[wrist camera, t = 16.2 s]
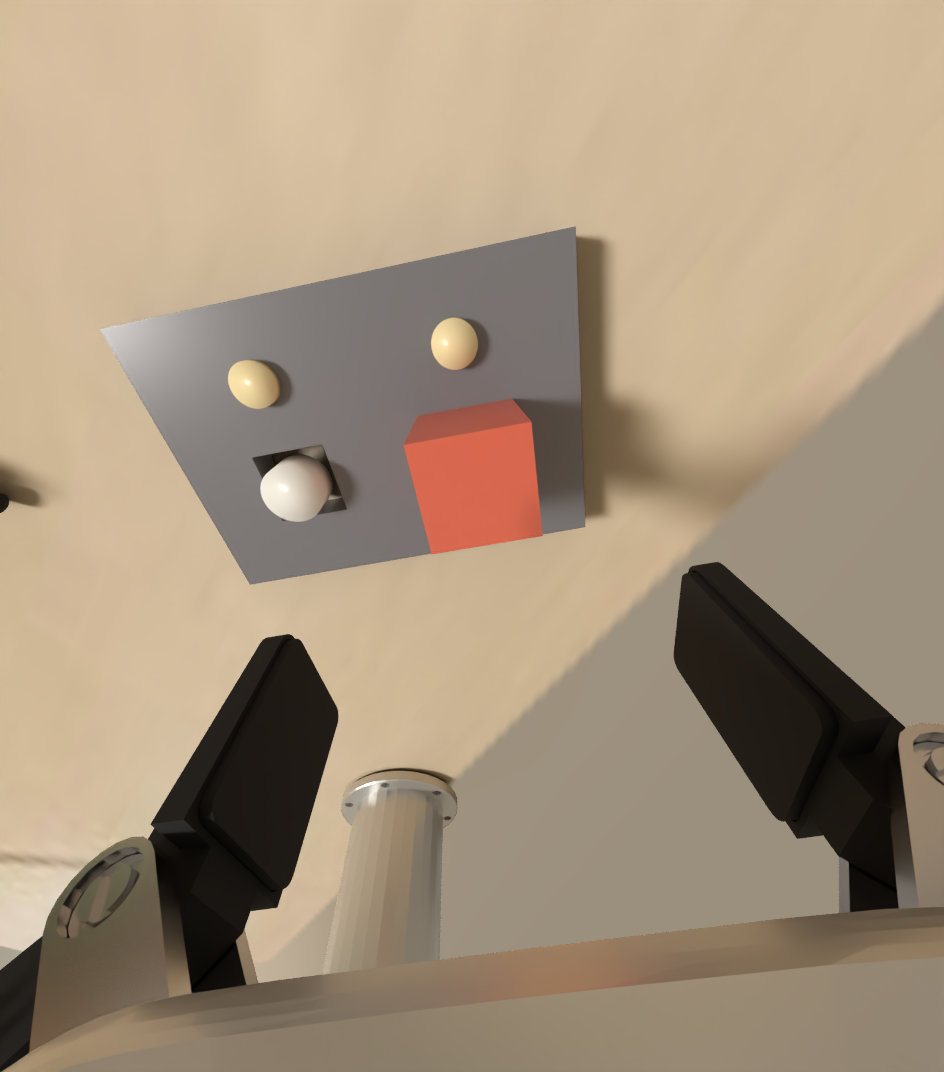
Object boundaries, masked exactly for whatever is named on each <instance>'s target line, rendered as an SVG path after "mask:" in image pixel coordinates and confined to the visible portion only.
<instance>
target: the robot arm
mask: <svg viewBox="0 0 944 1072" xmlns="http://www.w3.org/2000/svg"><path fill="white" fill-rule="evenodd" d="M674 660H675V664H676V666H677V669H678V670H679V672H680V673H681V675H682V677H683V678H684V680H685V681H686V683H687V684H688V686H689V687H690V689H691V690H692V692H693V693H694V695H695V696H696V698H697V699H698V701H699V703H700V704H701V705H702V707H703V709H704V710H705V711H706V713H707V715H708V716H709V718H710V720H711V721H712V723H713V724H714V725H715V727H716V729H717V730H718V732H719V733H720V735H721V736H722V738H723V739H724V741H725V742H726V744H727V746H728V747H729V749H730V750H731V752H732V753H733V755H734V756H735V758H736V760H737V761H738V763H739V764H740V765H741V767H742V769H743V770H744V772H745V773H746V775H747V776H748V778H749V780H750V781H751V783H752V784H753V785H754V787H755V789H756V790H757V792H758V793H759V795H760V796H761V798H762V799H763V801H764V802H765V804H766V805H767V807H768V809H769V810H770V811H771V813H772V814H773V815H774V816H775V817H776V818H777V819H778V820H780V821H786V823H787V824H788V826H789V827H790V829H791V830H792V831H793V833H794V835H795V836H796V838H797V839H798V838H806V837H813V836H821V835H824V837H825V838H826V840H827V841H828V842H829V844H830V845H831V847H832V848H833V849H834V851H835V852H836V853H837V855H838V856H839V913H838V914H827V915H816V916H806V917H796V918H786V919H774V920H766V921H757V922H749V923H741V924H732V925H723V926H715V927H706V928H698V929H689V930H682V931H672V932H664V933H655V934H647V935H639V936H630V937H621V938H613V939H605V940H597V941H588V942H580V943H572V944H564V945H555V946H547V947H539V948H531V949H523V950H515V951H507V952H499V953H490V954H482V955H474V956H466V957H458V958H450V959H442V960H440V919H441V879H442V876H441V875H442V838H443V836H442V835H443V828H444V827H446V826H447V825H448V824H449V823H450V822H451V821H452V820H453V819H454V817H455V816H456V813H457V797H456V795H455V792H454V791H453V790H452V788H451V787H450V786H449V785H447V784H446V783H445V782H444V781H442V780H440V779H438V778H436V777H433V776H430V775H427V774H423V773H419V772H412V771H387V772H380V773H376V774H371V775H369V776H366V777H363V778H361V779H360V780H358V781H356V782H354V783H353V784H352V785H351V786H350V787H349V788H348V789H347V790H346V792H345V793H344V797H343V801H342V804H341V811H342V815H343V816H344V818H345V819H346V821H347V822H348V823H349V824H350V825H352V829H351V834H350V839H349V844H348V849H347V853H346V858H345V863H344V868H343V873H342V878H341V883H340V888H339V893H338V898H337V903H336V908H335V913H334V918H333V923H332V928H331V933H330V938H329V943H328V948H327V953H326V958H325V963H324V968H323V972H322V975H316V976H309V977H301V978H293V979H286V980H277V981H271V982H264V983H258V980H257V976H256V972H255V968H254V964H253V960H252V957H251V953H250V949H249V945H248V941H247V937H246V933H245V929H244V928H245V925H246V922H247V920H248V917H249V914H250V911H255V910H263V909H270V908H277V907H278V904H279V900H280V897H281V894H282V891H283V889H284V888H286V887H287V886H288V885H289V884H290V882H291V880H292V877H293V874H294V871H295V868H296V864H297V861H298V857H299V854H300V850H301V847H302V844H303V840H304V837H305V833H306V830H307V826H308V823H309V819H310V816H311V813H312V809H313V806H314V802H315V799H316V795H317V792H318V789H319V785H320V782H321V778H322V775H323V771H324V768H325V765H326V761H327V758H328V754H329V751H330V747H331V744H332V741H333V737H334V734H335V730H336V727H337V723H338V709H337V707H336V705H335V703H334V701H333V699H332V697H331V696H330V694H329V692H328V690H327V688H326V686H325V684H324V683H323V681H322V679H321V677H320V675H319V673H318V671H317V670H316V668H315V666H314V664H313V662H312V660H311V658H310V656H309V655H308V653H307V651H306V649H305V647H304V645H303V643H302V642H301V640H299V639H295V638H294V637H293V636H292V635H290V634H286V635H280V636H275V637H269V638H265V639H263V641H262V642H261V643H260V645H259V646H258V648H257V650H256V651H255V653H254V655H253V656H252V658H251V660H250V661H249V663H248V665H247V666H246V668H245V670H244V671H243V673H242V674H241V676H240V678H239V679H238V681H237V683H236V684H235V686H234V688H233V689H232V691H231V693H230V694H229V696H228V698H227V699H226V701H225V703H224V704H223V706H222V707H221V709H220V711H219V712H218V714H217V716H216V717H215V719H214V721H213V722H212V724H211V726H210V727H209V729H208V731H207V732H206V734H205V735H204V737H203V739H202V740H201V742H200V744H199V745H198V747H197V749H196V750H195V752H194V754H193V755H192V757H191V759H190V760H189V762H188V763H187V765H186V767H185V768H184V770H183V772H182V773H181V775H180V777H179V778H178V780H177V782H176V783H175V785H174V787H173V788H172V790H171V791H170V793H169V795H168V796H167V798H166V800H165V801H164V803H163V805H162V806H161V808H160V810H159V811H158V813H157V815H156V816H155V818H154V819H153V821H152V823H151V825H152V826H153V827H154V830H153V832H152V833H151V835H150V837H149V838H148V839H146V838H144V837H131V838H128V839H126V840H123V841H120V842H118V843H116V844H114V845H113V846H111V847H109V848H108V849H106V850H104V851H103V852H101V853H100V854H99V855H98V856H97V857H95V858H94V859H93V860H92V861H90V862H89V863H88V864H87V865H86V866H85V867H84V868H83V869H82V870H81V871H80V872H79V873H78V874H77V875H76V876H75V877H74V878H73V879H72V880H71V881H70V883H69V884H68V886H67V887H66V888H65V890H64V891H63V892H62V894H61V895H60V896H59V898H58V899H57V901H56V903H55V905H54V906H53V908H52V910H51V912H50V914H49V916H48V918H47V921H46V925H45V928H44V932H43V936H42V937H41V938H39V939H38V940H37V941H36V942H34V943H33V944H32V945H31V946H30V947H28V948H27V949H26V950H25V951H23V952H22V953H21V954H20V955H18V956H17V957H16V958H15V959H14V960H12V961H11V962H10V963H9V964H7V965H6V966H5V967H4V968H2V969H1V970H0V1072H944V725H941V724H930V723H928V724H927V723H919V724H915V725H911V726H908V727H907V728H905V727H904V726H903V725H902V724H901V723H900V722H899V721H898V720H896V719H895V718H894V717H893V716H892V715H891V714H890V713H889V712H888V711H887V710H886V709H884V708H883V707H882V706H881V705H880V704H879V703H878V702H877V701H875V700H874V699H873V698H872V697H871V696H870V695H869V694H868V693H867V692H865V691H864V690H863V689H862V688H861V687H860V686H859V685H858V684H856V683H855V682H854V681H853V680H852V679H851V678H850V677H848V676H847V675H846V674H845V673H844V672H843V671H842V670H841V669H840V668H838V667H837V666H836V665H835V664H834V663H833V662H832V661H831V660H829V659H828V658H827V657H826V656H825V655H824V654H823V653H822V652H821V651H819V650H818V649H817V648H816V647H815V646H814V645H812V644H811V643H810V642H809V641H808V640H807V639H806V638H805V637H804V636H802V635H801V634H800V633H799V632H798V631H797V630H796V629H795V628H794V627H792V626H791V625H790V624H789V623H788V622H787V621H786V620H785V619H783V618H782V617H781V616H780V615H779V614H777V612H776V611H774V610H773V609H772V608H771V607H770V606H769V605H768V604H767V603H765V602H764V601H763V600H762V599H761V598H760V597H759V596H758V595H756V594H755V593H754V592H753V591H752V590H751V589H750V588H749V587H747V586H746V585H745V584H744V583H743V582H742V581H741V580H740V579H739V578H737V577H736V576H735V575H734V574H733V573H732V572H731V571H730V570H728V569H727V568H726V567H725V566H724V565H722V564H721V563H719V562H714V563H708V564H702V565H696V566H692V567H690V569H689V572H688V573H686V574H684V575H683V576H682V582H681V591H680V600H679V610H678V619H677V628H676V637H675V647H674Z"/></svg>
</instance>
